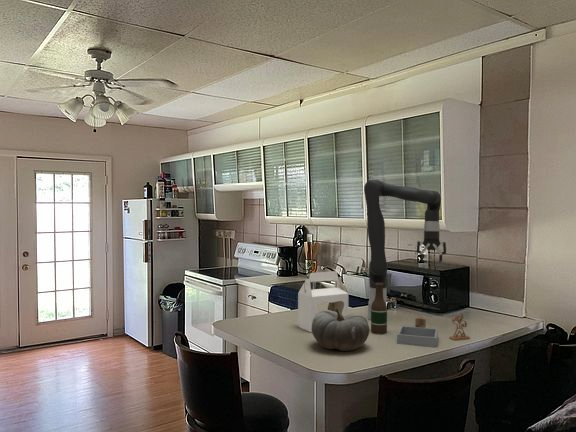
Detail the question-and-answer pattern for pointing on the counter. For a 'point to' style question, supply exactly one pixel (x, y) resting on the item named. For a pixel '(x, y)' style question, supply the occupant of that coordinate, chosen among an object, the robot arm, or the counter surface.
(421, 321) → the walnut block
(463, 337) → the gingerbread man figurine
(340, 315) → the gourd
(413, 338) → the grey bin
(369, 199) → the robot arm
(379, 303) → the beer bottle
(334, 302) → the gable box
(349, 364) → the counter surface
